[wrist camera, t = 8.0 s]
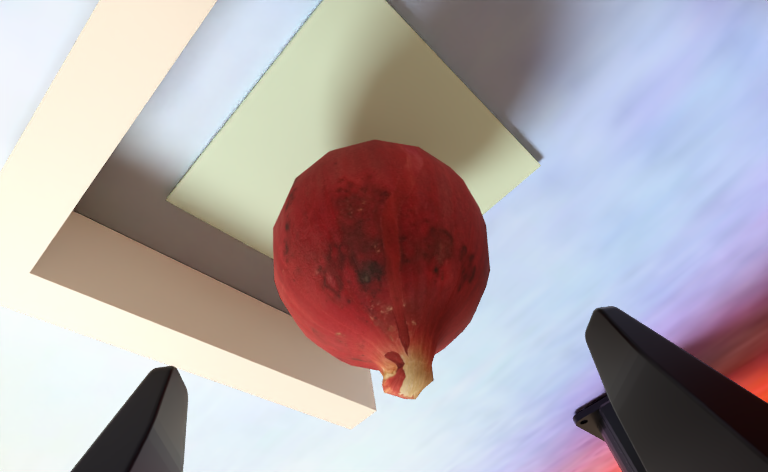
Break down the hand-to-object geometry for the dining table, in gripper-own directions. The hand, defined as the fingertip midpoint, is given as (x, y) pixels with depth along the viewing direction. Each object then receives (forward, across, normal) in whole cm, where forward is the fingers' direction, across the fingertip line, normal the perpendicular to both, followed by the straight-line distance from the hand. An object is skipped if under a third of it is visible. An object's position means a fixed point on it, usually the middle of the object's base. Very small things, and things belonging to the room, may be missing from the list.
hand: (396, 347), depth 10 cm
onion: (+7, 0, 0) cm, 7 cm away
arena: (+7, 0, 0) cm, 7 cm away
